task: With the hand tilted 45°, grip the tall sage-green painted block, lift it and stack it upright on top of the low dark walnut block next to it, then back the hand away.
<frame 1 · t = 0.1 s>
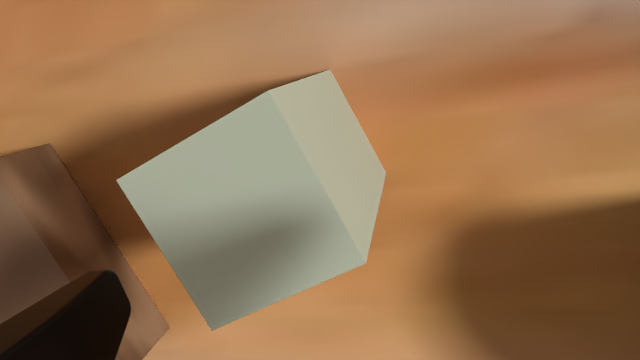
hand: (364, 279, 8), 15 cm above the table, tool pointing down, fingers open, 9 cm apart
walnut base block: (36, 279, 29), on the table
sage block: (308, 149, 24), on the table
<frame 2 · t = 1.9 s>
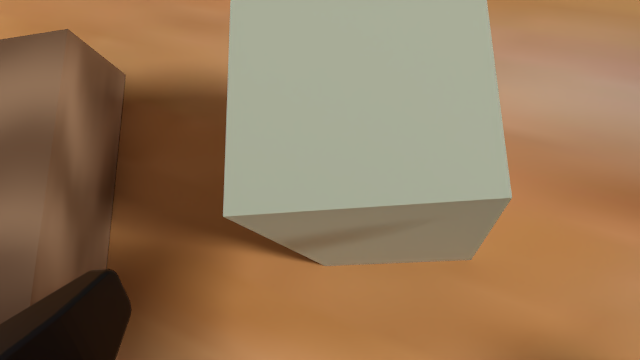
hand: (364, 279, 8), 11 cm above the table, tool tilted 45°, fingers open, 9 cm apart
walnut base block: (0, 204, 23), on the table
sage block: (391, 192, 20), on the table
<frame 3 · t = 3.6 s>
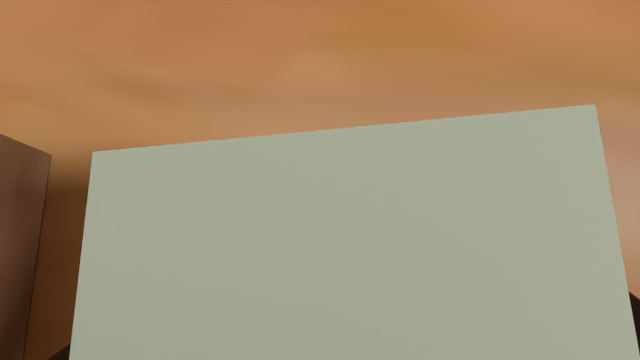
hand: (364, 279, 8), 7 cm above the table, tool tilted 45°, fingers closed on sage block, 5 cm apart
sage block: (396, 345, 14), on the table, touching gripper
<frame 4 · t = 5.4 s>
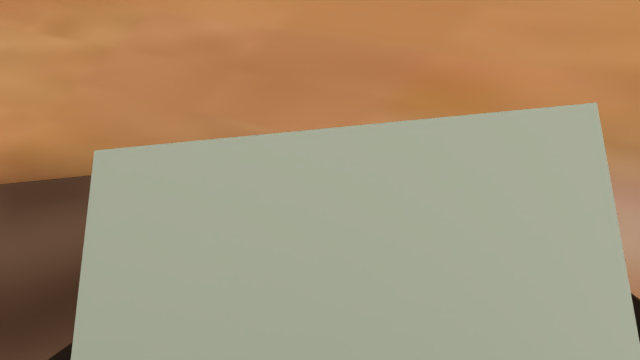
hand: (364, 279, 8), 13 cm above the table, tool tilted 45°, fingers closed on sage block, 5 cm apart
walnut base block: (61, 323, 24), on the table
sage block: (397, 345, 14), point 7 cm above the table, touching gripper
when the fingers open (12 cm above the table, at t = 7.3 s): sage block drops 1 cm, resting on walnut base block.
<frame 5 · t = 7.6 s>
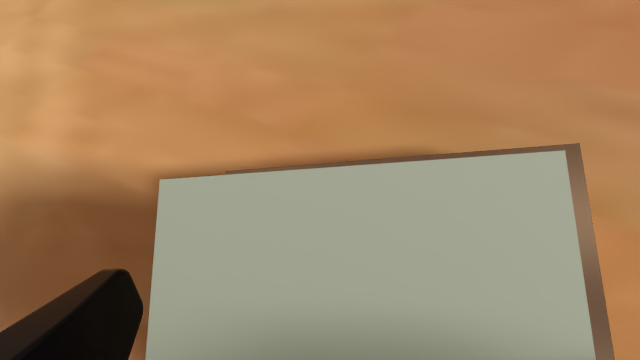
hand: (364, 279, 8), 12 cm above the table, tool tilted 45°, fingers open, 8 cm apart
walnut base block: (406, 336, 19), on the table
sage block: (401, 341, 15), point 4 cm above the table, touching walnut base block
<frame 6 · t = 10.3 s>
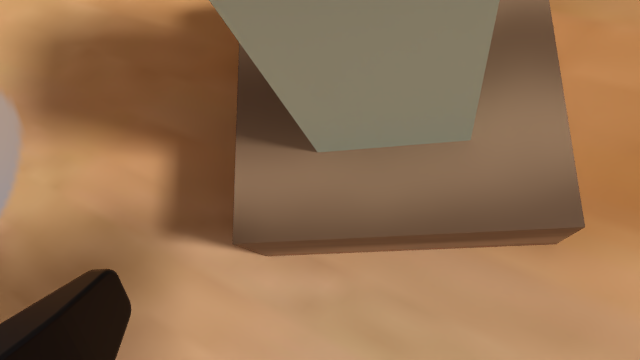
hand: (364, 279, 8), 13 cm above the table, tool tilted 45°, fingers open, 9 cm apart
walnut base block: (395, 117, 22), on the table
sage block: (388, 77, 19), point 4 cm above the table, touching walnut base block
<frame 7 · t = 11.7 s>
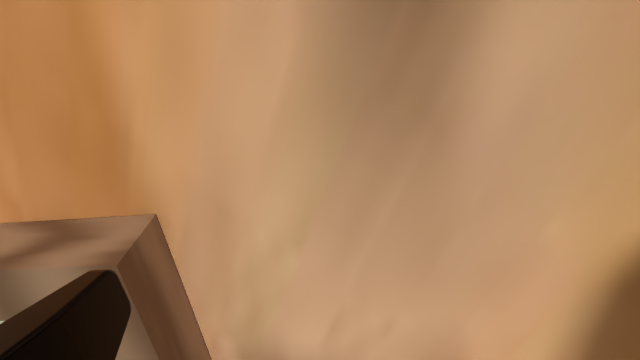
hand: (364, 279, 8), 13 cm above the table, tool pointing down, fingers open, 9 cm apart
walnut base block: (95, 304, 29), on the table
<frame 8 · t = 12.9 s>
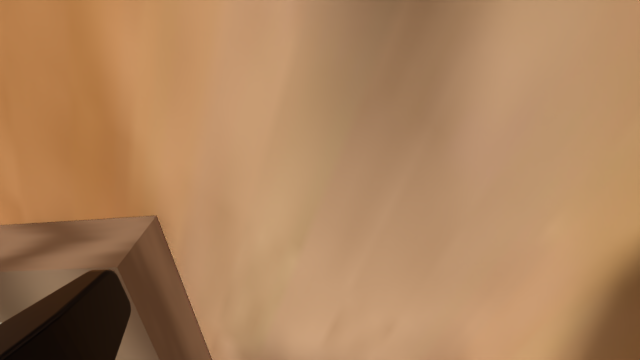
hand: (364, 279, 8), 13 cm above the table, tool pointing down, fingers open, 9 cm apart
walnut base block: (96, 306, 29), on the table
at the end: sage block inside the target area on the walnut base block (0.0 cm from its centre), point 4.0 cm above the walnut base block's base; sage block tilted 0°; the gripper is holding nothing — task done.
